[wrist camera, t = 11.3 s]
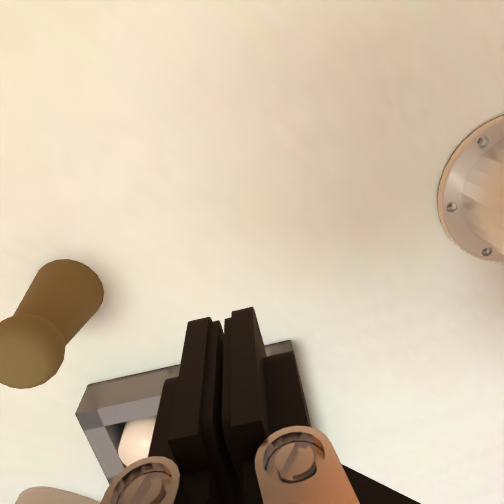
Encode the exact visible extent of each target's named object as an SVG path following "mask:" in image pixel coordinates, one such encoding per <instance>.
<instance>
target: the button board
mask: <svg viewBox="0 0 504 504" xmlns="http://www.w3.org/2000/svg"><path fill="white" fill-rule="evenodd" d="M264 347H265V351H266V355H267V356H271V355H275V354H279V353H284V352H288V351H292V346H291V342H290V340H288V341H284V342H279V343H275V344H270V345H266V346H264ZM180 365H181V364H180ZM180 365H175V366H171V367H166V368H162V369H157V370H153V371H148V372H144V373H139V374H135V375H130V376H126V377H121V378H116V379H112V380H107V381H103V382H98V383H94V384H89V385H88V386H87V389H86V391H85V393H84V395H83V397H82V400H81V402H80V404H79V406H78V409H77V411H76V413H75V415H76V417H77V419H78V421H79V423H80V425H81V427H82V429H83V431H84V433H85V435H86V437H87V439H88V441H89V443H90V445H91V447H92V449H93V452H94V454H95V456H96V458H97V460H98V462H99V464H100V466H101V468H102V470H103V472H104V474H105V476H106V478H107V480H108V482H109V484H111V482H112V480H113V479H114V478H115V477H116V476H117V475H118V474H119V473H120V472H121V471H122V470H123V469H125V468H126V467H127V466H126V465H125V464H124V463H123V462H122V461H121V459H120V458H119V454H118V448H119V444H120V441H121V437H122V434H123V431H124V427H125V424H126V422H127V421H131V420H136V419H140V418H145V417H150V416H154V415H157V412H158V407H159V403H160V398H161V393H162V389H163V384H164V382H165V380H166V379H168V378H173V377H177V376H179V370H180Z"/></svg>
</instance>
